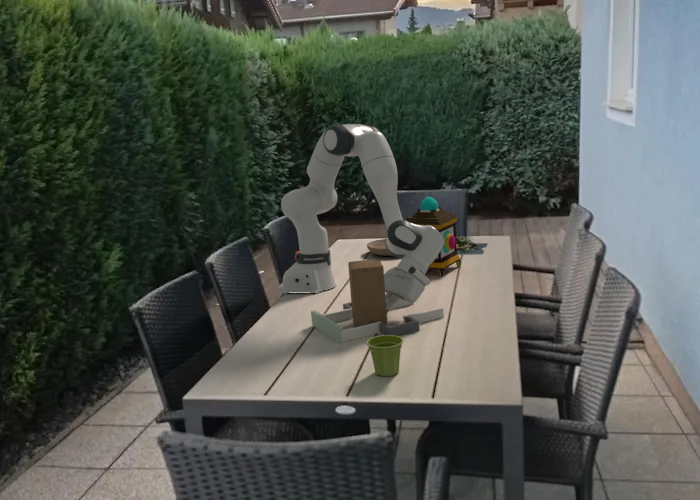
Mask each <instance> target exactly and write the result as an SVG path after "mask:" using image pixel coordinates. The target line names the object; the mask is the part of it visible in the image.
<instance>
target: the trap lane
mask: <svg viewBox="0 0 700 500" xmlns="http://www.w3.org/2000/svg"><path fill="white" fill-rule="evenodd" d="M414 304H415V302H414V303H409V302H407V301H405V300H402V299H399V300H398V302H396V303H395V304H393V305H392V307H391V308H390V309H389V308H387V307H386V311H389V310H393V309H397V308H398V309H399V308H402V307H407V306H412V305H414ZM444 313H445V312H444V307H435V308H432V309H427V310H424V311H419V312H415V313H411V314H407V315H403V316H402V317H403V318H402V319H403V320H402V321H403V323H406V321H405V317H408V316H409V317H411V318H413V319H415V320H417V321H419V324H421V323H425V322H426V323H427V322H429V321H433V320H438V319H441V318H442V319H443V318H444V317H445V315H444ZM310 314H311V325H313V326H314V328H315V327H316V328H317V330H318V329H319V330H320V332H321V333H323V334H324V335H326V336H327V337H329V338H330V339H332V340H333V341H334V342H336V343H338V344H339V343H342V342H347V341H351V340H355V339H356V340H357V339H359V338H363V337H367V336H372V335H376V334H381V333H380V330H379V323H382V322H381V321H380V322H376V323H372V324H368V325H363V326H359V327H350V328H347V329H343V330H342V328H341V325H340V324H339V323H337V322H341V321H340V320H342V321H345V320H350V319H353V317H352V308H350V309H345V310H343V309H342V310H337V311H333V312H328V313H324V314H321V313H320V312H318V311H316V310H315V309H313V310H311V311H310ZM336 321H337V322H336ZM313 326H312V327H313ZM316 328H315V329H316ZM319 330H318V331H319Z"/></svg>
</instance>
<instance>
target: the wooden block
mask: <svg viewBox="0 0 700 500" xmlns="http://www.w3.org/2000/svg"><path fill="white" fill-rule="evenodd" d="M347 266H348V276H349V277H348V278H349V279H348V280H349V288H350V290H349V291H350V302H351V304H352V317H353V318H352V323H353V326H354V327H353V328H355V327H359V326H363V325H368V324H372V323H376V322H380V321H381V322H383V323H385V324H386V325H388V314H387V311H388V310H386V297H385V295H386V292H385V282H384V274H385V271H384V269H385V268H384V265H383V262H381V260H380V259H379V258H376V259H366V260H356V261H354V260H353V261H349V262H348V265H347Z"/></svg>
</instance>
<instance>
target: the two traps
mask: <svg viewBox="0 0 700 500" xmlns="http://www.w3.org/2000/svg"><path fill="white" fill-rule="evenodd" d="M342 308H343V309H342V310H345V309H350V308H352V304H351V301H350V302H347V303H342ZM405 321H406V323H404V322H403V323H399V324H395V325H391V326H390V325H389V324H387V325H386V324H385V323H383V322H382V323H379V330H380V333H379V334H381V335H394V336H399V337H401V336H404V335H407V334H411V333H415V332H419V331H420V323H419V321H417V320H415V319H413V318H411V317H409V316H408V317H405Z"/></svg>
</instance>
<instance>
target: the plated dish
mask: <svg viewBox="0 0 700 500" xmlns="http://www.w3.org/2000/svg"><path fill="white" fill-rule="evenodd" d="M488 245H489V243H485V242H484V243H483V242H479V243H476V242H473V241H472V240H471V239H468V236H467V235H463V236H456V248H457V254H458V256H460V255H463V256H464V255H465V256H466V255H467V256H468V255H471V256H472V255H473V256H474V255H483V254H484V253H485V250H483V249H484V248H487V247H488Z"/></svg>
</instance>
